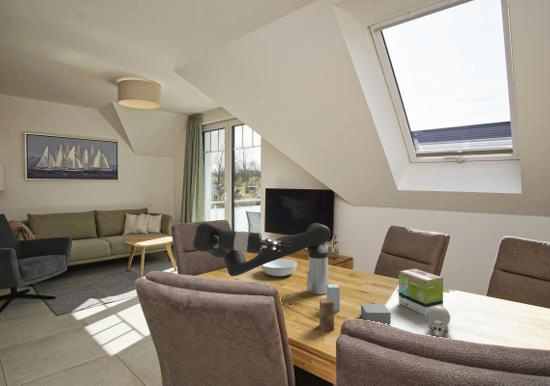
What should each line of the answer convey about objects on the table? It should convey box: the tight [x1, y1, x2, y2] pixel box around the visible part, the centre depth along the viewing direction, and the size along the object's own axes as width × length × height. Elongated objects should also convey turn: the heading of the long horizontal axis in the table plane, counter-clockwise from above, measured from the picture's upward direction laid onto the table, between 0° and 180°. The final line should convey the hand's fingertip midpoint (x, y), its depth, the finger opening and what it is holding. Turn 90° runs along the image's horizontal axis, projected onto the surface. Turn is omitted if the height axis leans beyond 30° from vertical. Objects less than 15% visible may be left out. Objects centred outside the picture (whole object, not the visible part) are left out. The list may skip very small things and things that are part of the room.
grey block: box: [360, 303, 392, 326], centre depth 127 cm, size 9×9×5 cm
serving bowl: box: [260, 258, 298, 278], centre depth 191 cm, size 21×21×7 cm
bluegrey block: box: [326, 283, 341, 312], centre depth 138 cm, size 4×4×10 cm
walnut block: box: [319, 297, 335, 331], centre depth 121 cm, size 4×4×10 cm
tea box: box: [398, 268, 444, 317], centre depth 138 cm, size 15×10×15 cm, turn 23°
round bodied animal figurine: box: [427, 306, 451, 338], centre depth 116 cm, size 7×12×8 cm, turn 148°
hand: (291, 247), depth 120 cm, fingers open, 8 cm apart
